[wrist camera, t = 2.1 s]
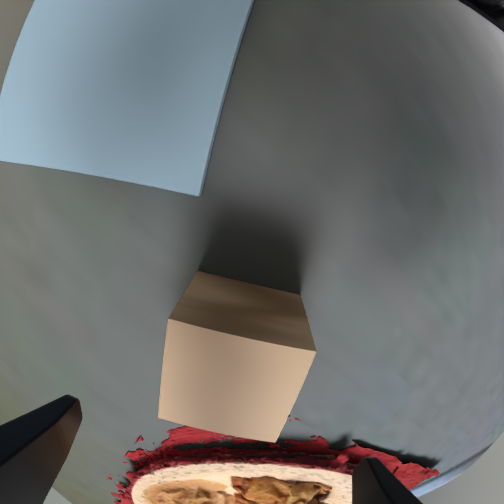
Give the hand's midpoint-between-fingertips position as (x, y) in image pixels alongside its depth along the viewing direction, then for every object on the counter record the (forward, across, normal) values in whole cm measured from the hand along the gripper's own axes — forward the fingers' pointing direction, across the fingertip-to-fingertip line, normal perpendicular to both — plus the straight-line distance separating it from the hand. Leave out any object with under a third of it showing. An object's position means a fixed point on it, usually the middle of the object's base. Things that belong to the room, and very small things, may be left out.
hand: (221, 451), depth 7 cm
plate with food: (+9, -5, +20) cm, 22 cm away
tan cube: (+8, 0, 0) cm, 8 cm away
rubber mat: (+8, +10, -13) cm, 18 cm away
